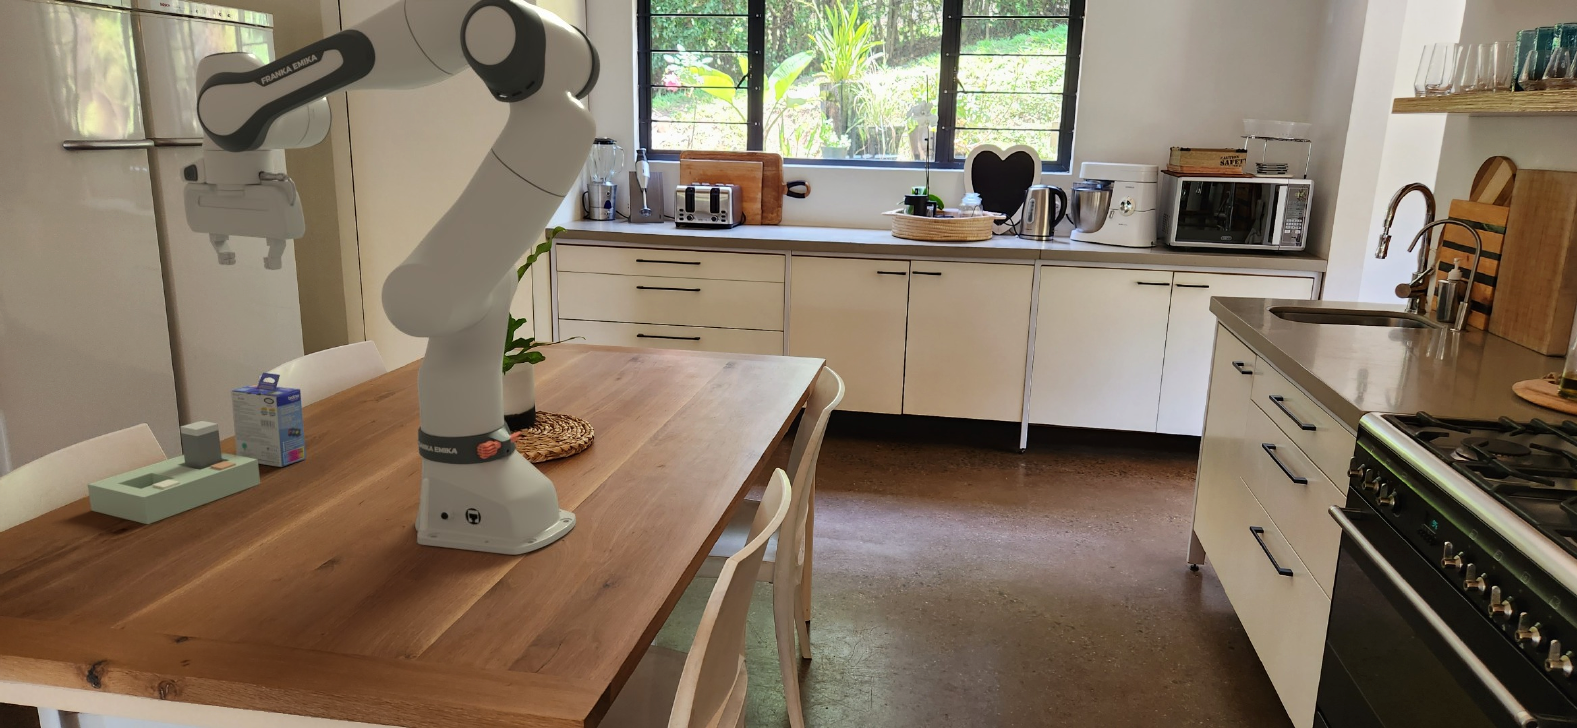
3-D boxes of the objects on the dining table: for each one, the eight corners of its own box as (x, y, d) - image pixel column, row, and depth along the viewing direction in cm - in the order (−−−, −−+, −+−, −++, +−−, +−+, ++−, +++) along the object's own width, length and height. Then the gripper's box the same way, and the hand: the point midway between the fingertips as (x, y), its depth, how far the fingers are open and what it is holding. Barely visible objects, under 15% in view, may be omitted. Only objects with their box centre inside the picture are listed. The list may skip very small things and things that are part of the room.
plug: (225, 485, 153) (217, 423, 151) (204, 492, 150) (196, 429, 148) (209, 482, 155) (201, 420, 153) (188, 489, 152) (180, 426, 149)
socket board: (260, 483, 154) (257, 457, 153) (147, 524, 138) (143, 495, 137) (206, 472, 159) (203, 446, 158) (91, 510, 143) (87, 482, 142)
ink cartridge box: (309, 458, 167) (301, 374, 163) (283, 468, 161) (274, 382, 158) (262, 451, 170) (253, 369, 166) (235, 461, 164) (226, 376, 161)
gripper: (311, 172, 141) (320, 269, 144) (211, 168, 149) (221, 260, 152) (273, 174, 135) (283, 274, 139) (171, 169, 143) (182, 264, 146)
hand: (250, 267), depth 145 cm, fingers open, 8 cm apart
